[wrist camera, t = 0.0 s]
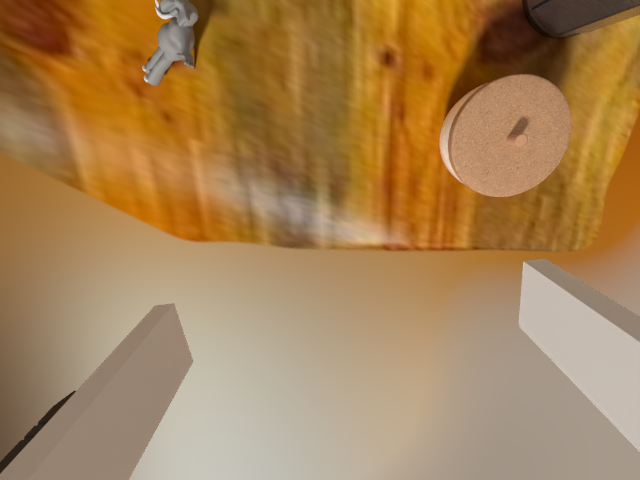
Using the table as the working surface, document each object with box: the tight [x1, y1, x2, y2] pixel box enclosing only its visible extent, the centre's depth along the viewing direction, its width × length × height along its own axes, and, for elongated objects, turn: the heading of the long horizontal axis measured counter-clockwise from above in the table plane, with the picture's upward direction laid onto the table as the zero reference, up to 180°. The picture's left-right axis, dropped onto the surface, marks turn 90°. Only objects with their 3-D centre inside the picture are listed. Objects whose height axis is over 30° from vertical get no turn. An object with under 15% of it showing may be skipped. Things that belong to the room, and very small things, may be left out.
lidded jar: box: [439, 74, 572, 197], centre depth 32 cm, size 11×11×9 cm
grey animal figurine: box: [142, 0, 198, 86], centre depth 32 cm, size 10×6×9 cm
